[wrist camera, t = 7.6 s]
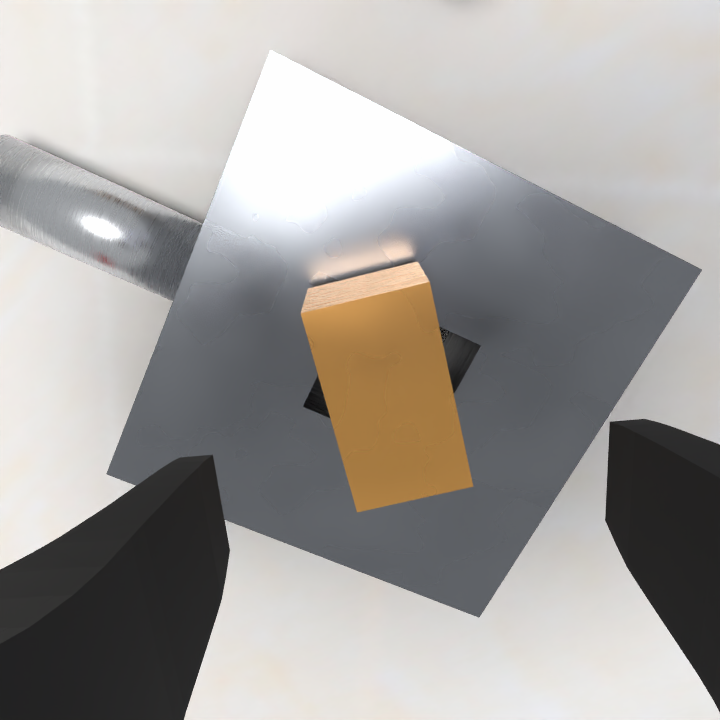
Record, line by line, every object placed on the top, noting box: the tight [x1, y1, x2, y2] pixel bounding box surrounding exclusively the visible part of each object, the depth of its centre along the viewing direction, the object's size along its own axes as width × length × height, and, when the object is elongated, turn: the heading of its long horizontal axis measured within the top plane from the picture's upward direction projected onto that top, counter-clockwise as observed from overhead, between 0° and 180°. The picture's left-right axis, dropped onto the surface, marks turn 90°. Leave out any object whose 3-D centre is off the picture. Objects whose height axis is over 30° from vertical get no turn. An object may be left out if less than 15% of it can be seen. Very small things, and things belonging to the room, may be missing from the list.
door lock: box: [0, 50, 702, 617], centre depth 18 cm, size 18×12×4 cm, turn 65°
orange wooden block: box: [301, 261, 473, 512], centre depth 17 cm, size 5×3×6 cm, turn 14°
